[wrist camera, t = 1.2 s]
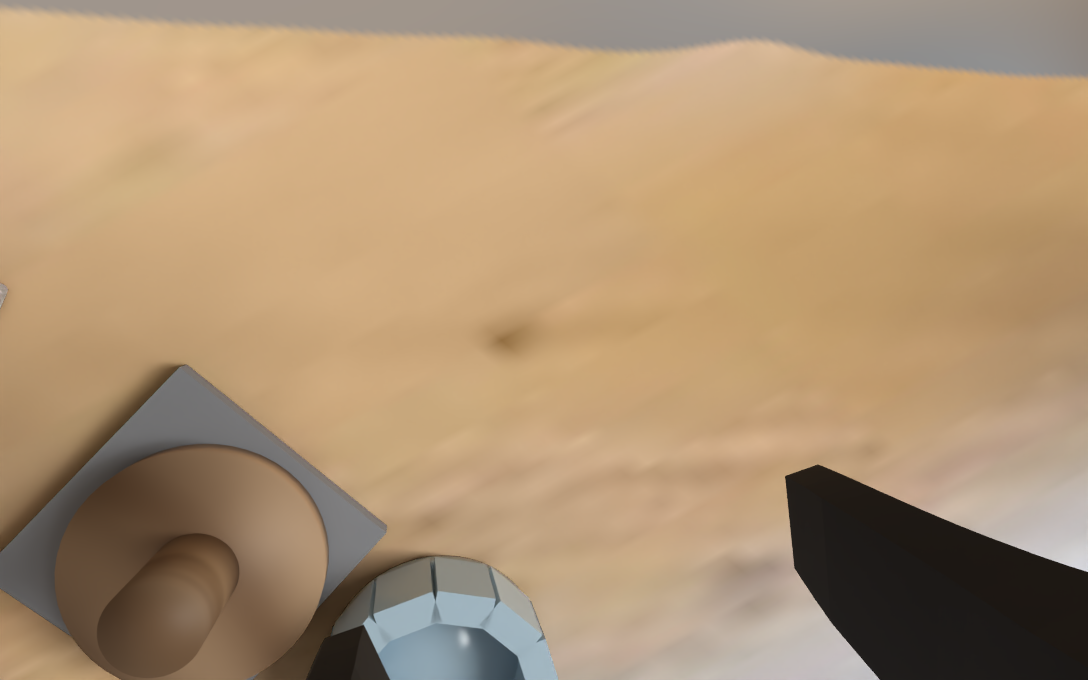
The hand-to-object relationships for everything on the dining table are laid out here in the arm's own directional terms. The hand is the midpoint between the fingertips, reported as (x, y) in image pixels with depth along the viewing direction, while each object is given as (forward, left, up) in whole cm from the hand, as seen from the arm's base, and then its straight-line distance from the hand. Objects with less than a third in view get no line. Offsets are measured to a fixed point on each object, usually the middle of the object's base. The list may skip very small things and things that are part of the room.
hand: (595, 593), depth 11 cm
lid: (-11, +4, -16) cm, 20 cm away
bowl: (-9, -6, -17) cm, 20 cm away
